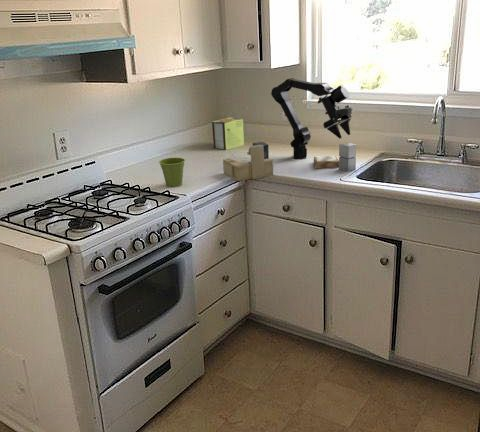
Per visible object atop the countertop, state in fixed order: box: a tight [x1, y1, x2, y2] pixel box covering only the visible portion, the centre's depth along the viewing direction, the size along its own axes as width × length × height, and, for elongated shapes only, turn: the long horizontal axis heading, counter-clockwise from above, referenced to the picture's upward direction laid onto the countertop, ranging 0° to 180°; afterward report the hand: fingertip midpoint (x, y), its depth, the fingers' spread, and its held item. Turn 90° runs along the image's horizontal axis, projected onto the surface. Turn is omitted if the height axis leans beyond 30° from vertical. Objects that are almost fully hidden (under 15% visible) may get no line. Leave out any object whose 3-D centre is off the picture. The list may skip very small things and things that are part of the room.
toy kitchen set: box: [222, 145, 274, 182], centre depth 252 cm, size 18×17×15 cm
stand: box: [313, 155, 339, 169], centre depth 264 cm, size 11×11×3 cm
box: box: [252, 141, 270, 159], centre depth 270 cm, size 8×6×11 cm
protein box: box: [211, 117, 245, 151], centre depth 310 cm, size 10×15×16 cm
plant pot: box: [158, 157, 186, 188], centre depth 242 cm, size 12×12×11 cm
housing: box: [338, 142, 357, 172], centre depth 253 cm, size 6×5×12 cm
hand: (345, 136), depth 261 cm, fingers open, 9 cm apart
